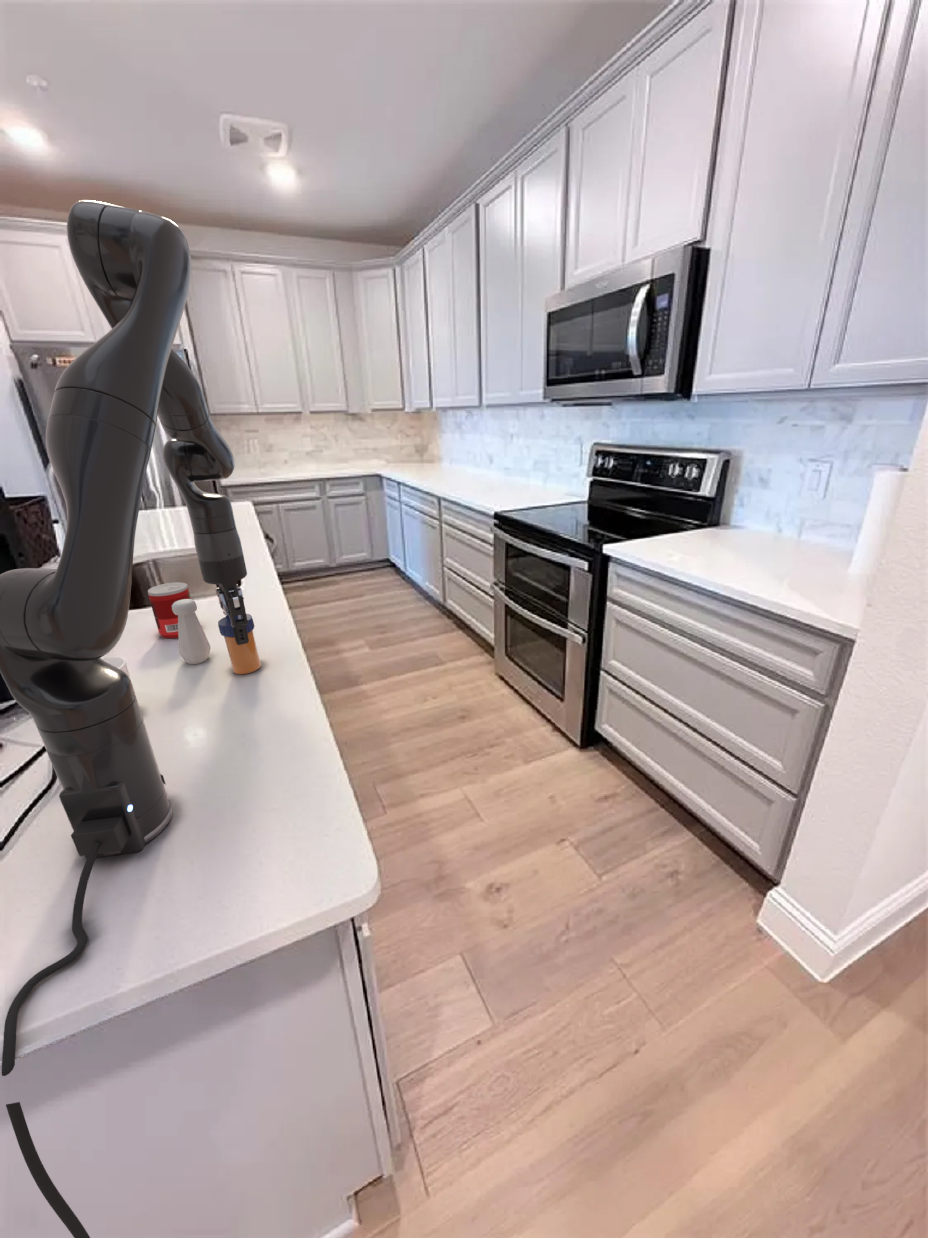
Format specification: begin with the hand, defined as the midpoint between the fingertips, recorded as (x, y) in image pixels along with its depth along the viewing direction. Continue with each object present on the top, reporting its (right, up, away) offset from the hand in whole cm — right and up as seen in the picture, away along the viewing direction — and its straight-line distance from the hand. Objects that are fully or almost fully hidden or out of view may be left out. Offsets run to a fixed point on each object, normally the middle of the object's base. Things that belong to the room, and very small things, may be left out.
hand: (239, 637), depth 99 cm
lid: (0, +3, -1) cm, 3 cm away
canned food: (-23, 0, +20) cm, 30 cm away
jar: (0, -6, +3) cm, 7 cm away
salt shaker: (-12, -5, +7) cm, 14 cm away
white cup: (-15, -14, -13) cm, 24 cm away
